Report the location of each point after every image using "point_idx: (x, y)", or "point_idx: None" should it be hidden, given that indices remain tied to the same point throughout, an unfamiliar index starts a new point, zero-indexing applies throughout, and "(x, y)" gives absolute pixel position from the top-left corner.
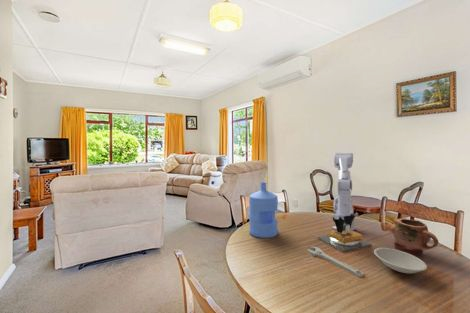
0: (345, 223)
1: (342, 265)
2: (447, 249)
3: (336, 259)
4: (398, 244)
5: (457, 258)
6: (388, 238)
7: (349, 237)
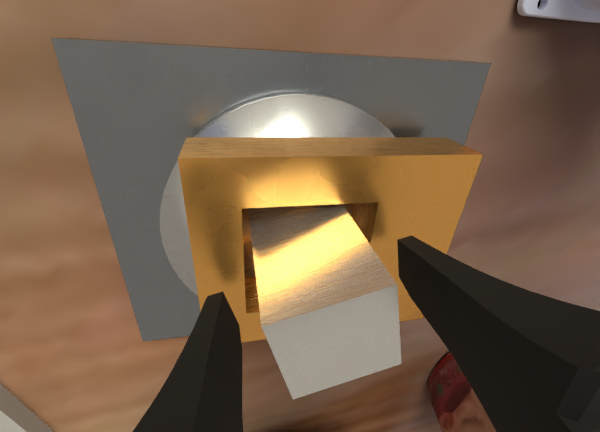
0: (439, 278)
1: None
2: None
3: (4, 416)
4: (461, 394)
5: None
6: (592, 250)
7: None
